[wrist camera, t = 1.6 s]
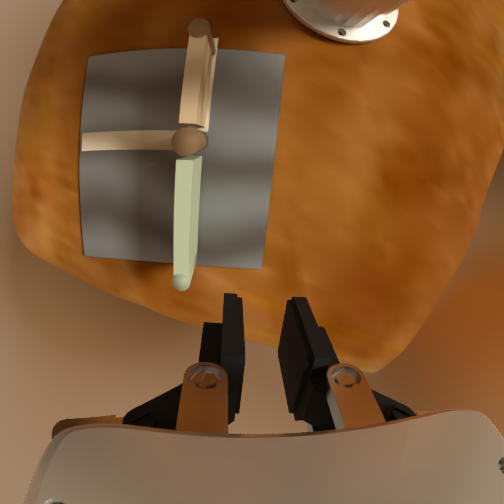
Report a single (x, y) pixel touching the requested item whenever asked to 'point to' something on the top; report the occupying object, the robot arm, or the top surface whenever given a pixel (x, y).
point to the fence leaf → (186, 219)
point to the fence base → (179, 149)
